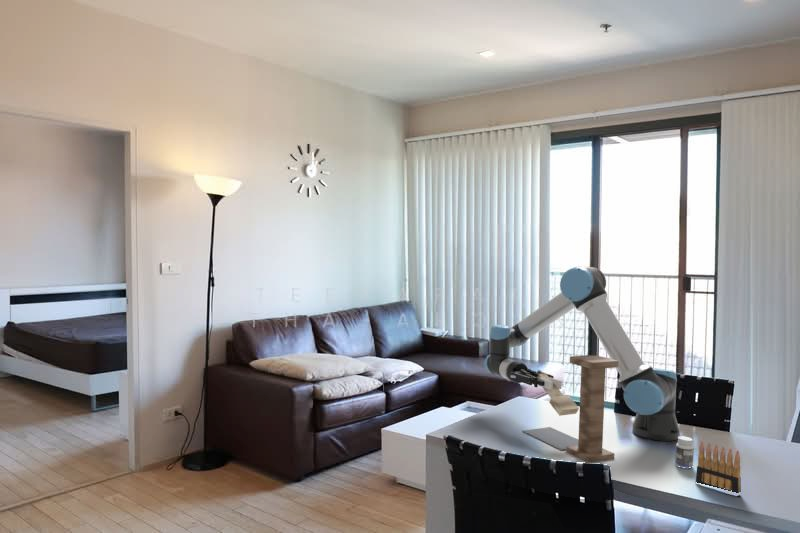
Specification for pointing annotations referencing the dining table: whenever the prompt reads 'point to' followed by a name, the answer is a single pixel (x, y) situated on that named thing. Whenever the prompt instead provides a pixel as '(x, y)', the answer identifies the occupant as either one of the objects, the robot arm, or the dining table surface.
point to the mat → (552, 437)
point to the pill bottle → (684, 452)
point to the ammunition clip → (719, 469)
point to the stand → (591, 408)
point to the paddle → (559, 399)
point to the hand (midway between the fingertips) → (556, 385)
